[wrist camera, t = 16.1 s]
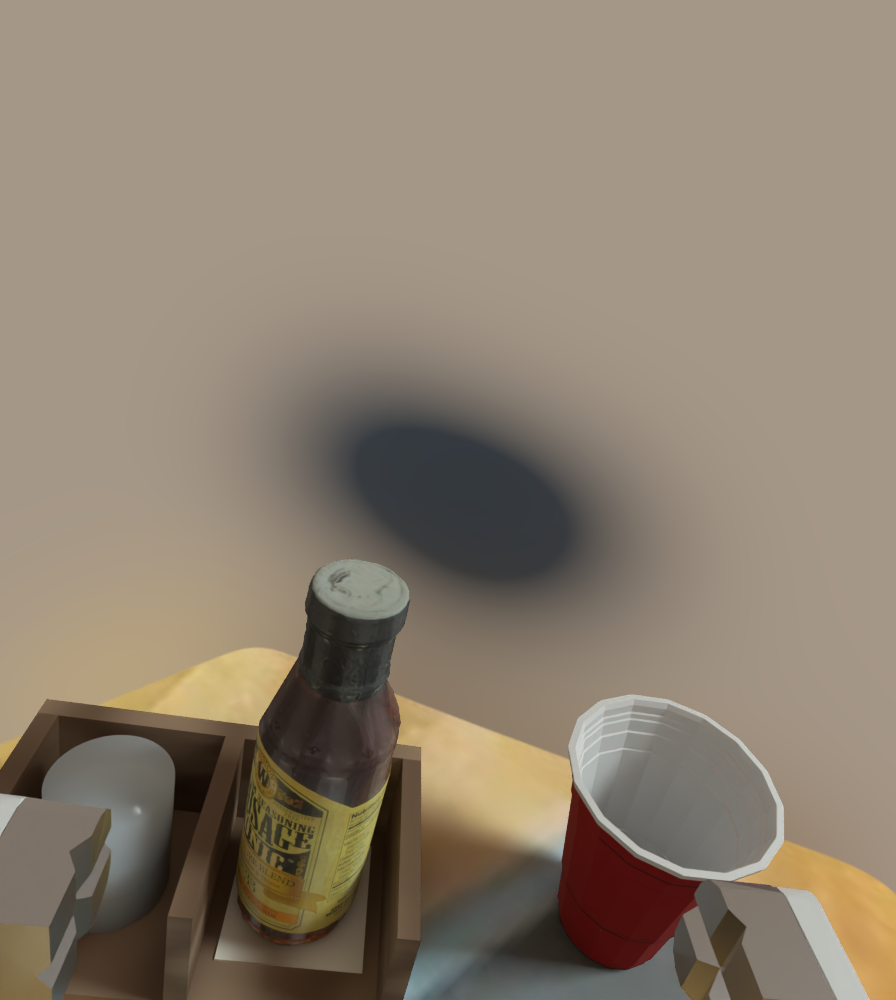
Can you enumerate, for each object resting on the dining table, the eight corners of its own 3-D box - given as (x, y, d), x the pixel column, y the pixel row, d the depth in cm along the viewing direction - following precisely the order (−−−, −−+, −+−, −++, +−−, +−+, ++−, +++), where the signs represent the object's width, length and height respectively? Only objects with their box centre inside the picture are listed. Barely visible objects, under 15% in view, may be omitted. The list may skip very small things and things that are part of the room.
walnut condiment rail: (-63, 996, 32) (-80, 892, 29) (51, 793, 42) (46, 699, 39) (392, 1033, 34) (420, 940, 31) (399, 832, 44) (420, 747, 41)
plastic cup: (503, 989, 37) (567, 826, 32) (521, 819, 47) (572, 673, 42) (716, 1055, 37) (817, 899, 31) (690, 869, 46) (763, 726, 41)
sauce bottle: (213, 874, 38) (245, 549, 30) (319, 826, 42) (375, 526, 34) (268, 987, 34) (324, 646, 26) (381, 922, 38) (463, 606, 29)
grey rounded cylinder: (25, 927, 34) (17, 824, 31) (75, 826, 39) (73, 728, 36) (149, 939, 35) (153, 839, 32) (183, 837, 40) (189, 742, 37)
